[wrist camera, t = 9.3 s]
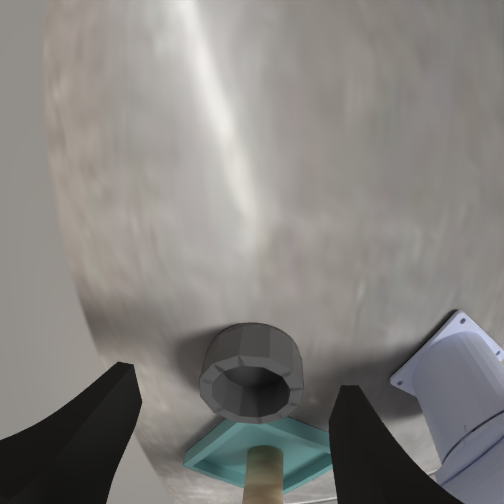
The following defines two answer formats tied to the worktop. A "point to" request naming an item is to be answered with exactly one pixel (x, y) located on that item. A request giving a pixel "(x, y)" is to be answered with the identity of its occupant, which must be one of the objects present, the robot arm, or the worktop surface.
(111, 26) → the worktop surface
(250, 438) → the teal tray
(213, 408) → the dark gray cup
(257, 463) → the birch dowel
